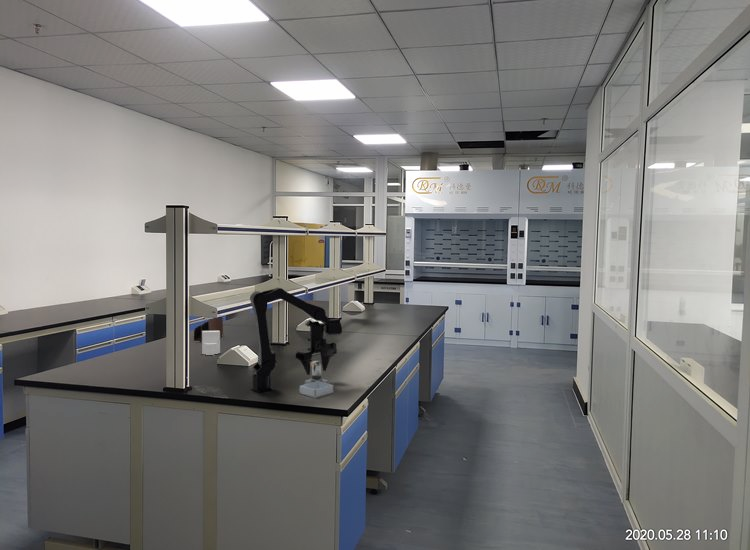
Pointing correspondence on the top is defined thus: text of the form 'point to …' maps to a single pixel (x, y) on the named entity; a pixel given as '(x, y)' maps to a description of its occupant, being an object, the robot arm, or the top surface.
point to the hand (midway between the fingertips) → (316, 372)
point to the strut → (316, 369)
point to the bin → (316, 389)
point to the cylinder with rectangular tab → (210, 342)
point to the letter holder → (209, 328)
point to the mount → (316, 380)
